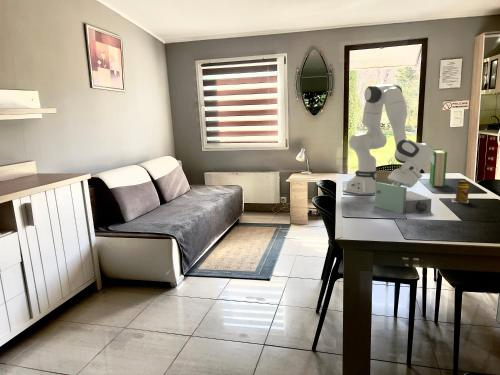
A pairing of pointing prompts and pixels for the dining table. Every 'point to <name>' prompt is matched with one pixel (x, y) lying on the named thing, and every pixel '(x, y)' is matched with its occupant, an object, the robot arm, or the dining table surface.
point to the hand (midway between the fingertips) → (392, 189)
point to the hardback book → (438, 167)
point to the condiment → (462, 192)
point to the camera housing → (417, 203)
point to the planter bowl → (383, 177)
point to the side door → (390, 197)
